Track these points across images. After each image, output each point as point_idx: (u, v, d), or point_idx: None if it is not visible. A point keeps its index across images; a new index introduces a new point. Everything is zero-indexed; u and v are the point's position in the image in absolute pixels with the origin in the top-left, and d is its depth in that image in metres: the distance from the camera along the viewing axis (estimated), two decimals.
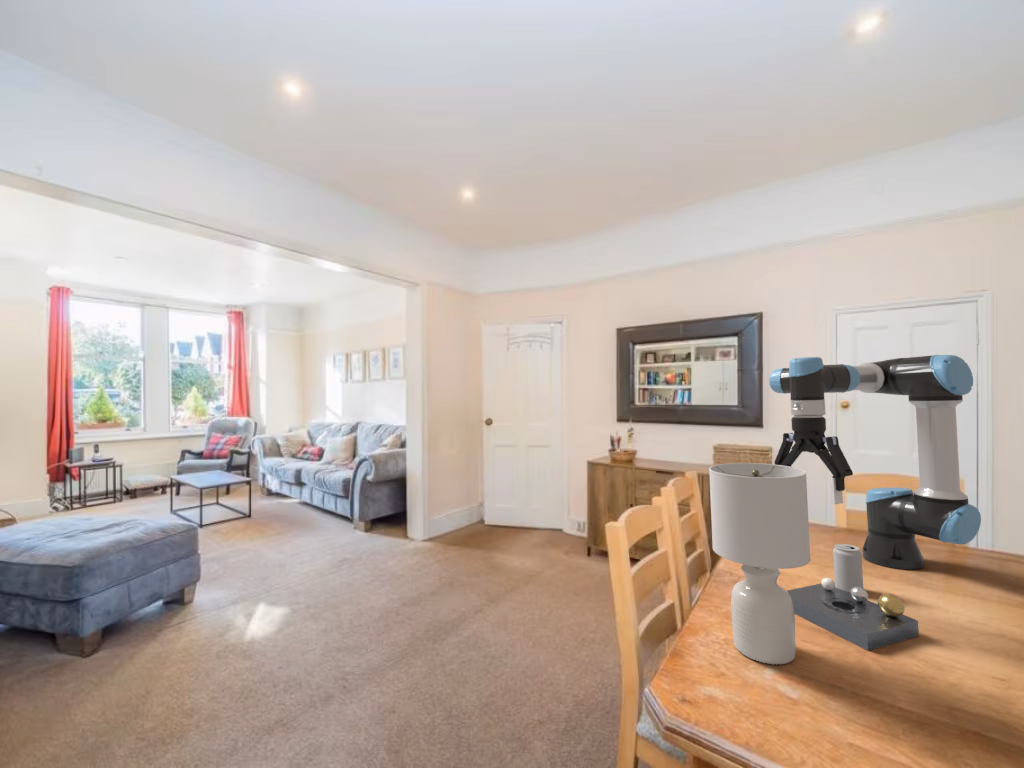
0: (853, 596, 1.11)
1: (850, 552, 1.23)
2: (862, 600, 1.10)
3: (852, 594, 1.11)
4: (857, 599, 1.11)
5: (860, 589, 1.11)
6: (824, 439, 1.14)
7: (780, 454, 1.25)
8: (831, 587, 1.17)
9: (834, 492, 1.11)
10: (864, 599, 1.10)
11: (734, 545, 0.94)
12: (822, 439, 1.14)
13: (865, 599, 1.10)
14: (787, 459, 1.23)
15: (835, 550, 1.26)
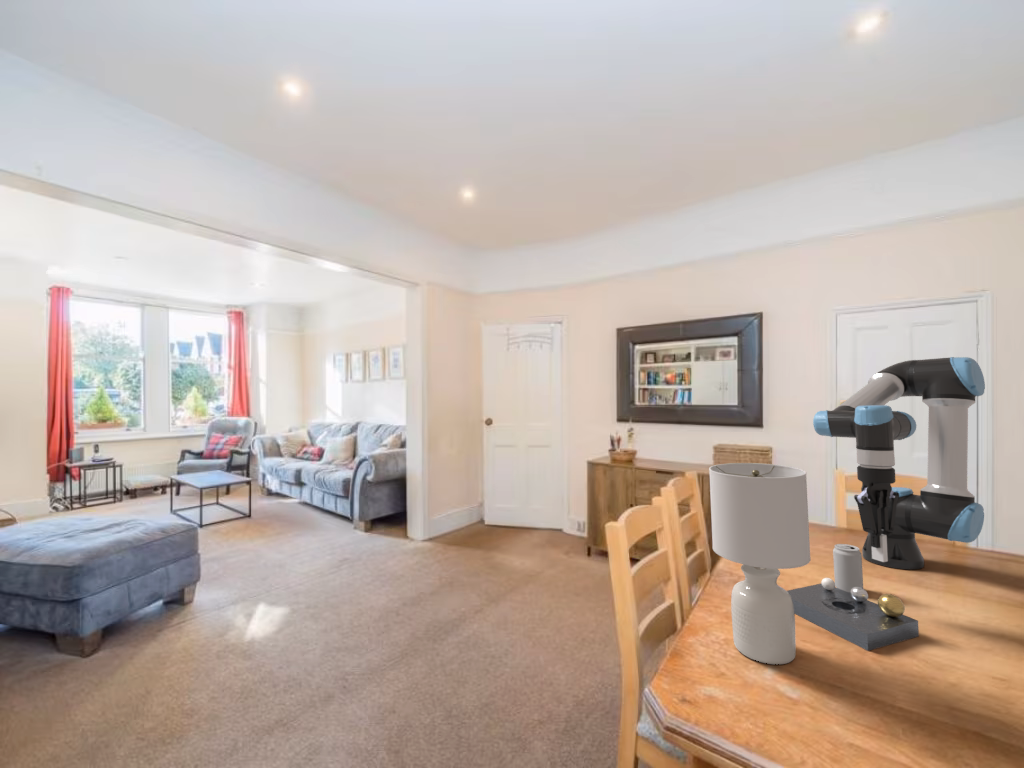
0: (853, 596, 1.11)
1: (850, 552, 1.23)
2: (862, 600, 1.10)
3: (852, 594, 1.11)
4: (857, 599, 1.11)
5: (860, 589, 1.11)
6: None
7: None
8: (831, 587, 1.17)
9: (872, 547, 1.15)
10: (864, 599, 1.10)
11: (734, 545, 0.94)
12: None
13: (865, 599, 1.10)
14: None
15: (835, 550, 1.26)
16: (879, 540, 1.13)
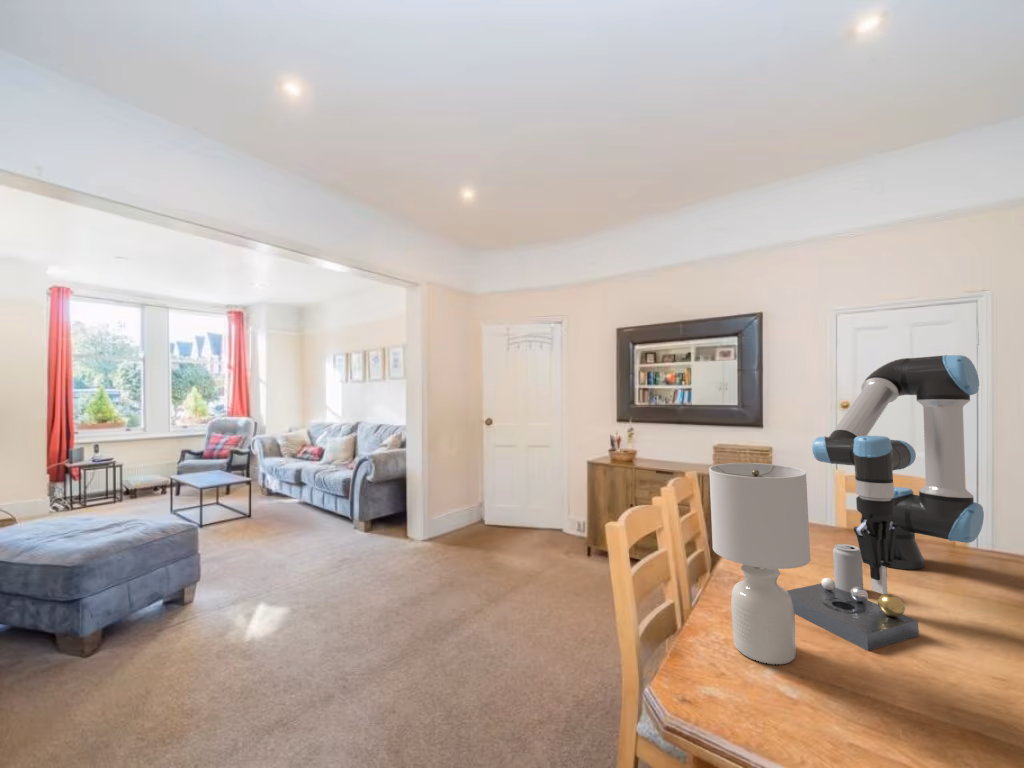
0: (853, 596, 1.11)
1: (850, 552, 1.23)
2: (862, 600, 1.10)
3: (852, 594, 1.11)
4: (857, 599, 1.11)
5: (860, 589, 1.11)
6: None
7: None
8: (831, 587, 1.17)
9: (872, 578, 1.15)
10: (864, 599, 1.10)
11: (734, 545, 0.94)
12: None
13: (865, 599, 1.10)
14: None
15: (835, 550, 1.26)
16: (879, 572, 1.13)
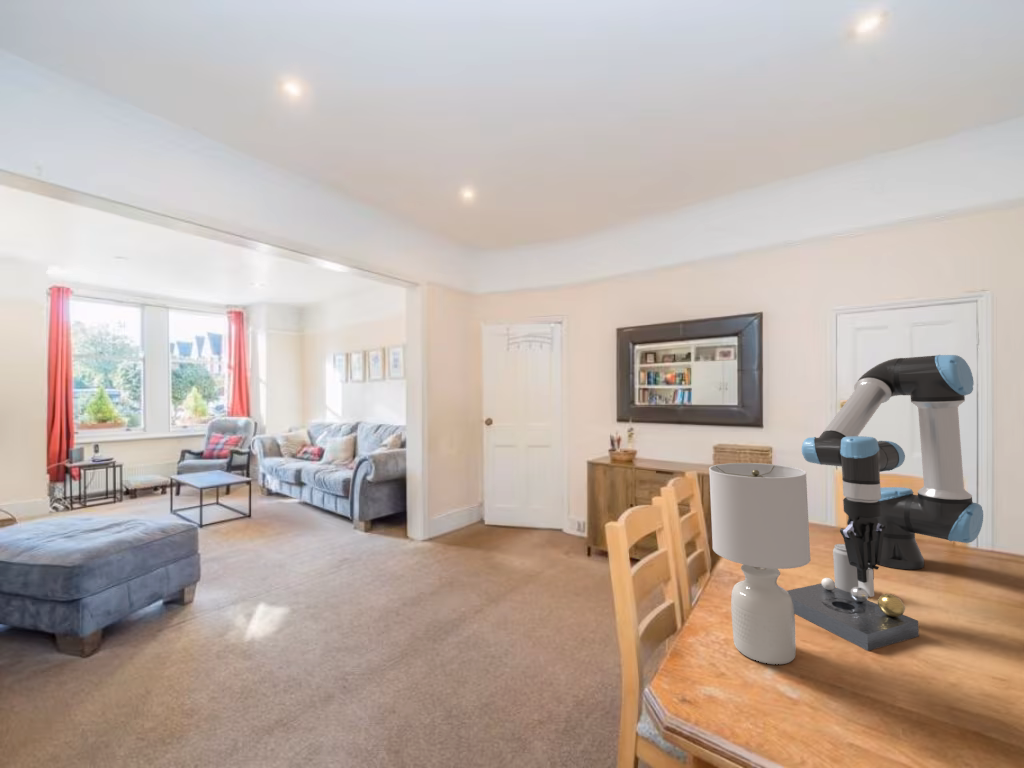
0: (853, 596, 1.11)
1: None
2: (862, 600, 1.10)
3: (852, 595, 1.11)
4: (857, 599, 1.11)
5: (860, 589, 1.11)
6: None
7: None
8: (831, 587, 1.17)
9: (859, 581, 1.13)
10: (864, 599, 1.10)
11: (734, 545, 0.94)
12: None
13: (865, 599, 1.10)
14: None
15: (835, 550, 1.26)
16: (865, 574, 1.11)
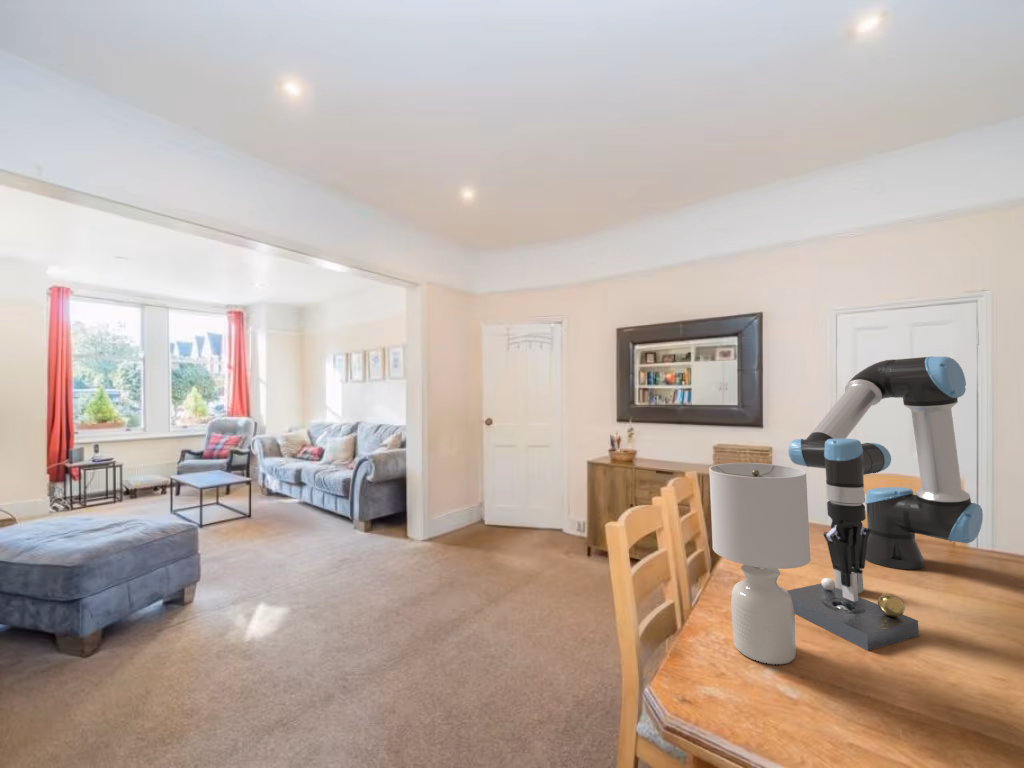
0: None
1: None
2: None
3: None
4: (845, 607, 1.09)
5: None
6: None
7: None
8: (831, 587, 1.17)
9: (843, 585, 1.12)
10: None
11: (734, 545, 0.94)
12: None
13: None
14: None
15: None
16: (849, 579, 1.10)
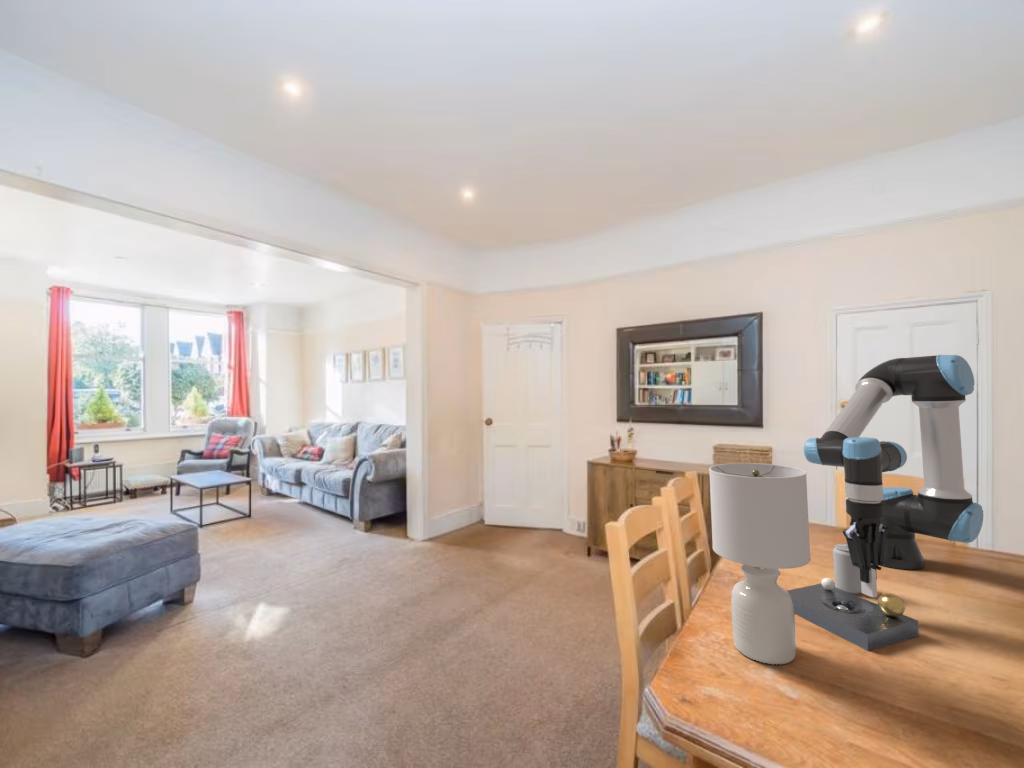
0: None
1: None
2: None
3: None
4: (845, 607, 1.09)
5: None
6: None
7: None
8: (831, 587, 1.17)
9: (861, 581, 1.14)
10: None
11: (734, 545, 0.94)
12: (851, 526, 1.12)
13: None
14: None
15: (835, 550, 1.26)
16: (868, 575, 1.12)
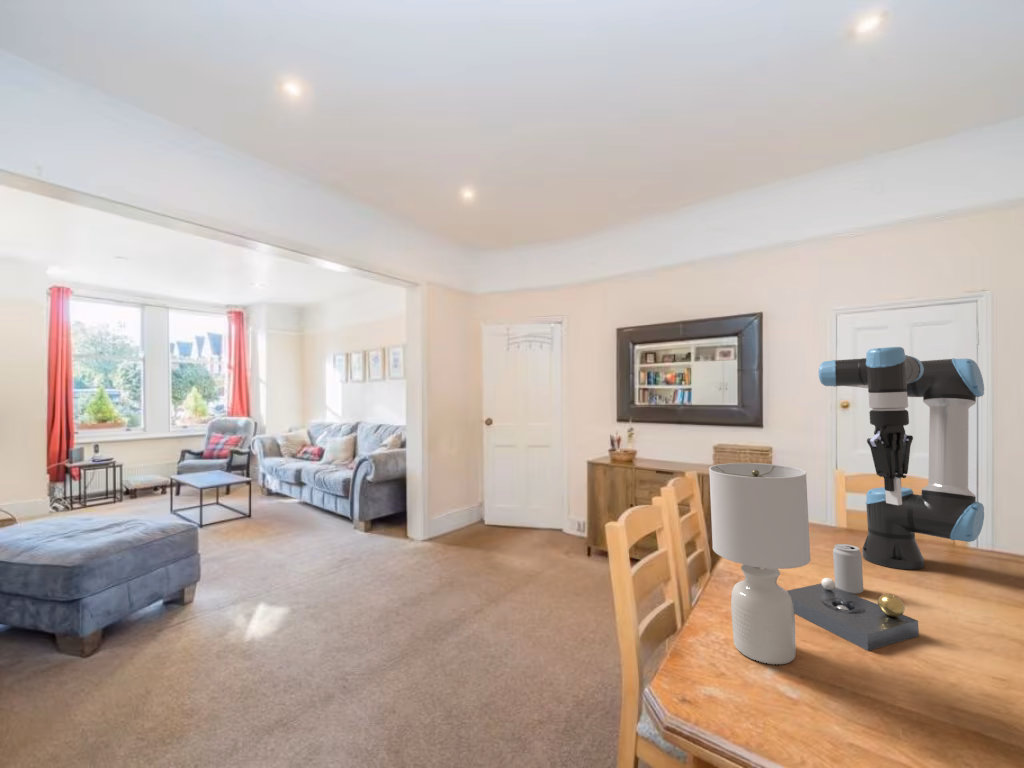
0: None
1: (850, 552, 1.23)
2: None
3: None
4: (845, 607, 1.09)
5: None
6: None
7: None
8: (831, 587, 1.17)
9: (886, 491, 1.14)
10: None
11: (734, 545, 0.94)
12: None
13: None
14: None
15: (835, 550, 1.26)
16: (893, 483, 1.12)
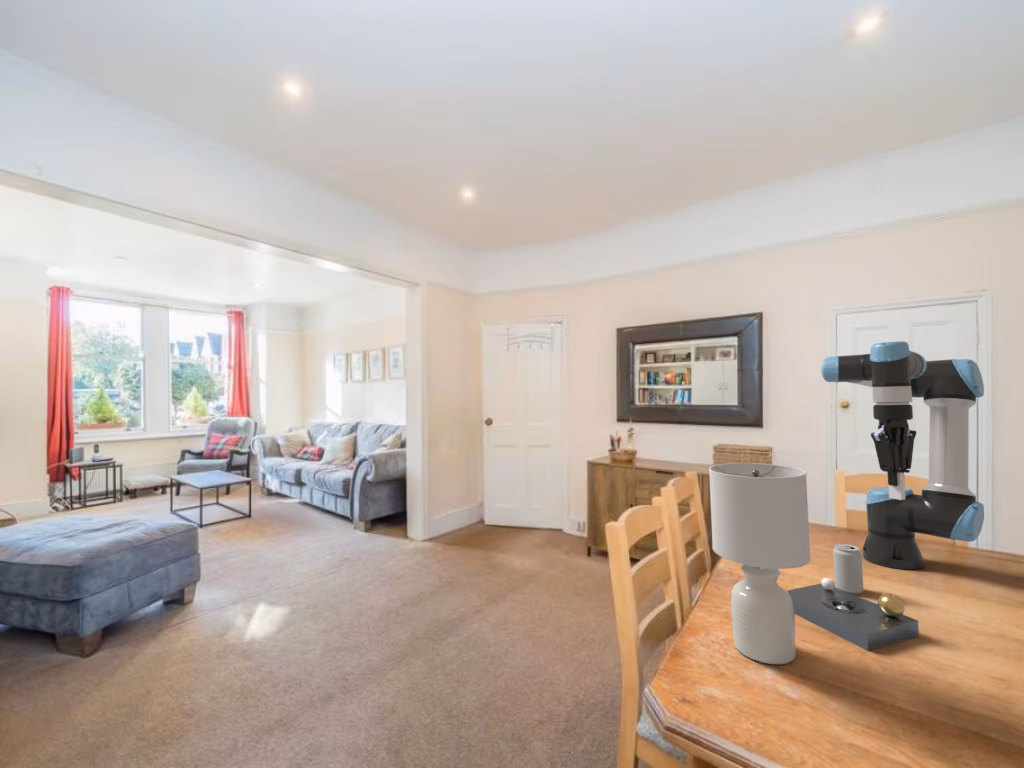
0: None
1: (850, 552, 1.23)
2: None
3: None
4: (846, 607, 1.09)
5: None
6: None
7: None
8: (831, 587, 1.17)
9: (889, 486, 1.13)
10: None
11: (734, 545, 0.94)
12: None
13: None
14: None
15: (835, 550, 1.26)
16: (896, 478, 1.11)
